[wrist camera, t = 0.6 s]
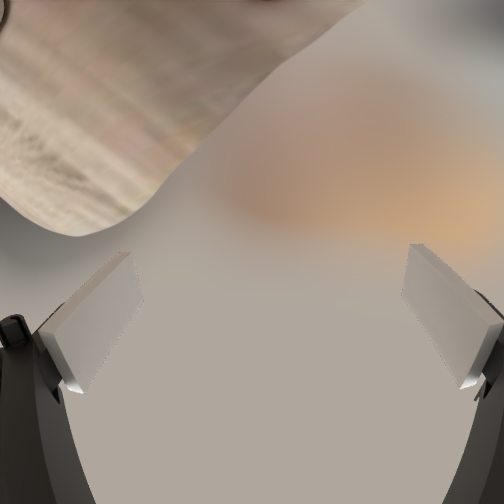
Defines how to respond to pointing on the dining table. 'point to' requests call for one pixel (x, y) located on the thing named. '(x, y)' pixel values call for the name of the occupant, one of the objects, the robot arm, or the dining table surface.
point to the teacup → (1, 9)
